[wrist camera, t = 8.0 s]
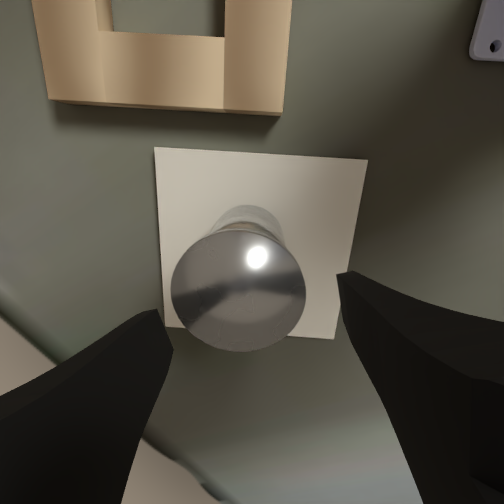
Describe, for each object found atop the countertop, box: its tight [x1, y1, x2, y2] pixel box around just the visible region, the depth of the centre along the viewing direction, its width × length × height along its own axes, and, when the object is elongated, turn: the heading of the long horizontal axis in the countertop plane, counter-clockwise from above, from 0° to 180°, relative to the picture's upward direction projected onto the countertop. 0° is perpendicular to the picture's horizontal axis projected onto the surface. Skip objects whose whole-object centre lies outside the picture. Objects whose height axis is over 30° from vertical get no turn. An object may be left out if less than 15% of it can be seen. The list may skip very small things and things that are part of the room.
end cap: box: [170, 205, 306, 352], centre depth 14 cm, size 5×5×7 cm
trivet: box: [154, 147, 368, 339], centre depth 18 cm, size 12×12×1 cm
